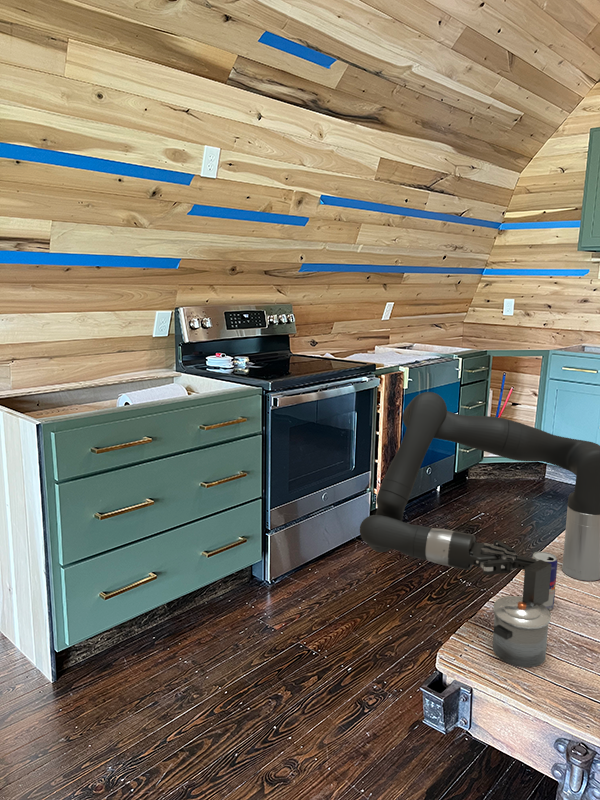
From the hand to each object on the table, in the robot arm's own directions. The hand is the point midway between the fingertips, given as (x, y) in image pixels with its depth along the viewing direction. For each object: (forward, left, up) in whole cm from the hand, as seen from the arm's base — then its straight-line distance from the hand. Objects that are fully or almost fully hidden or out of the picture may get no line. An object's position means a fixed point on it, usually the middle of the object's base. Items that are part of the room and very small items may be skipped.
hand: (536, 565), depth 122 cm
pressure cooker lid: (+5, +2, -8) cm, 10 cm away
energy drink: (-13, -6, -16) cm, 21 cm away
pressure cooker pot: (+6, +2, -16) cm, 17 cm away
